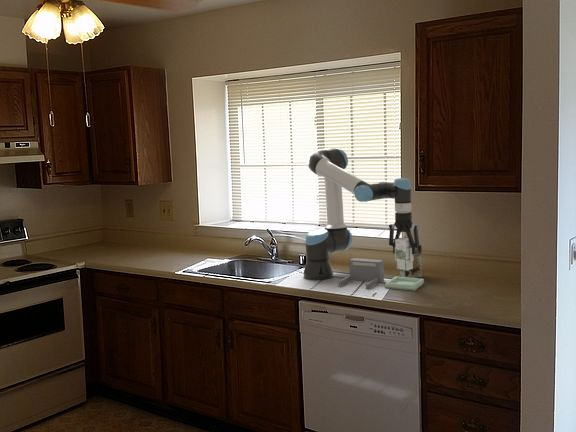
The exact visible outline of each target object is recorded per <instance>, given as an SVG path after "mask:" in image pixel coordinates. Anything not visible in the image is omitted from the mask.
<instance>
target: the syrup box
mask: <svg viewBox="0 0 576 432" xmlns="http://www.w3.org/2000/svg"><path fill="white" fill-rule="evenodd" d="M394 239H395V238H394ZM395 244H396V261H395V262H396V263H395V264H396V265H395V266H396V268H395V269H396V270H399V271H400V270H405V271H407V270H410V269H413V262H410V248H411V244H410V241H409V239H408V237H399V238H398V239H395Z"/></svg>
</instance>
